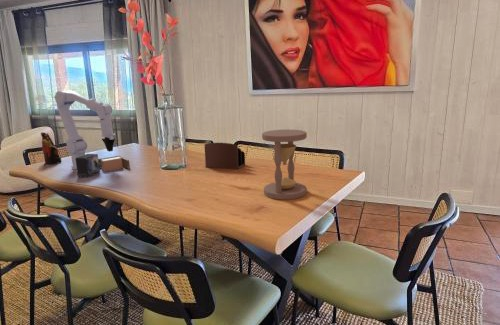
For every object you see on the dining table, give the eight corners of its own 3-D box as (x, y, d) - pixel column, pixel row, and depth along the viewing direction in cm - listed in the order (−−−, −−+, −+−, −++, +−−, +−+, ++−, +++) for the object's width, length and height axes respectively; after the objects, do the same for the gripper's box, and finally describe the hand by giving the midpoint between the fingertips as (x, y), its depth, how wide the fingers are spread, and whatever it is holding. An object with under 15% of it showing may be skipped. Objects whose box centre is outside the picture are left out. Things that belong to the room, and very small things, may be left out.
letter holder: (238, 169, 181) (237, 143, 178) (205, 167, 188) (203, 142, 185) (245, 165, 190) (244, 140, 187) (213, 163, 197) (212, 139, 194)
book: (102, 170, 192) (100, 159, 191) (120, 166, 198) (118, 156, 197) (104, 171, 188) (103, 161, 187) (123, 168, 194) (121, 158, 193)
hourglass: (290, 203, 129) (289, 137, 123) (255, 194, 140) (252, 134, 134) (314, 190, 142) (314, 131, 136) (280, 183, 153) (279, 128, 147)
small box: (88, 177, 177) (85, 158, 175) (77, 177, 179) (74, 157, 176) (101, 172, 187) (98, 153, 185) (90, 172, 189) (87, 153, 186)
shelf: (95, 168, 197) (94, 159, 196) (120, 163, 205) (119, 155, 204) (103, 173, 184) (102, 164, 183) (130, 168, 192) (129, 160, 191)
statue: (62, 162, 215) (57, 131, 210) (49, 165, 209) (43, 133, 205) (55, 160, 223) (49, 130, 218) (42, 162, 217) (36, 131, 212)
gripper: (118, 126, 184) (121, 151, 188) (110, 124, 196) (113, 148, 199) (104, 128, 180) (108, 153, 183) (97, 126, 191) (100, 150, 195)
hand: (110, 150), depth 191 cm, fingers closed
